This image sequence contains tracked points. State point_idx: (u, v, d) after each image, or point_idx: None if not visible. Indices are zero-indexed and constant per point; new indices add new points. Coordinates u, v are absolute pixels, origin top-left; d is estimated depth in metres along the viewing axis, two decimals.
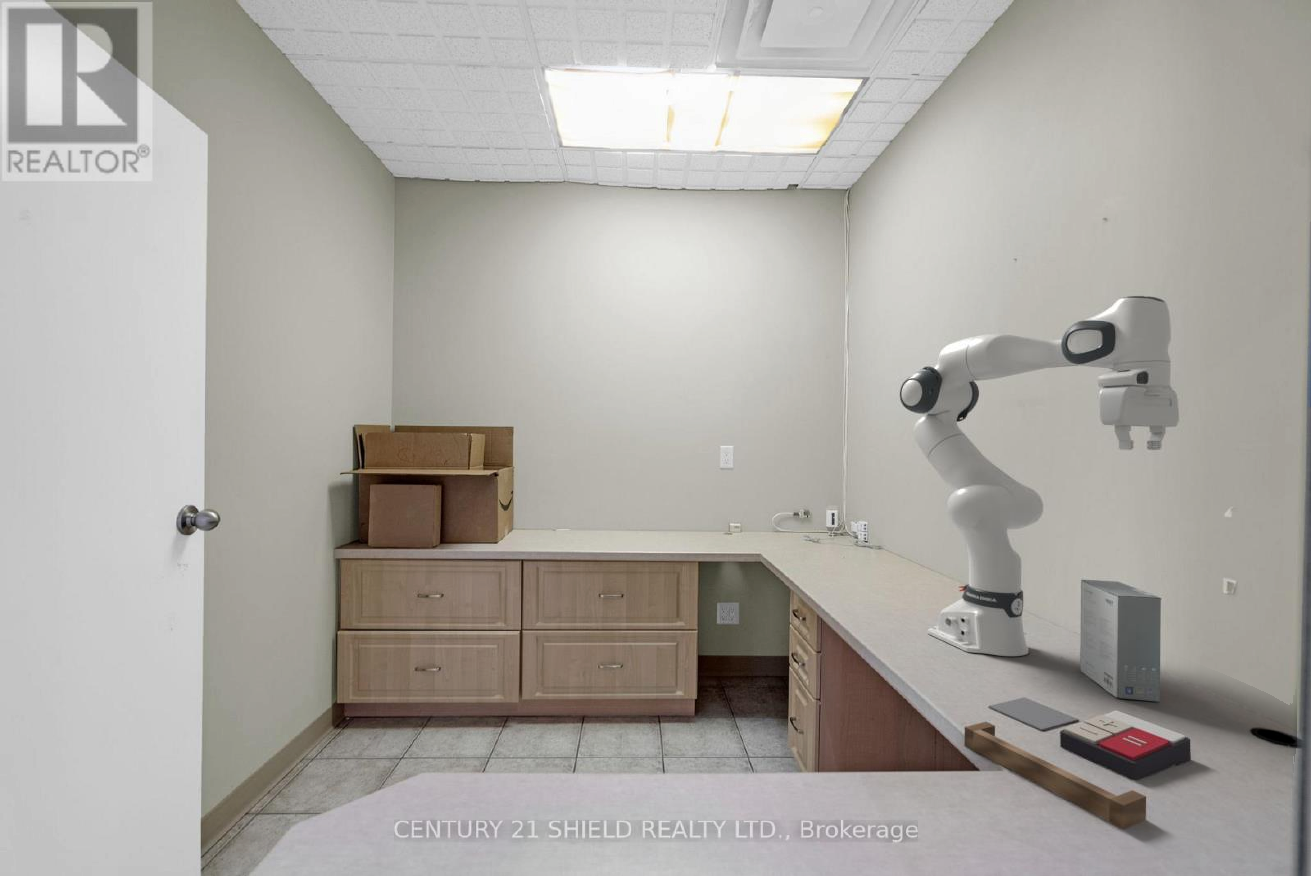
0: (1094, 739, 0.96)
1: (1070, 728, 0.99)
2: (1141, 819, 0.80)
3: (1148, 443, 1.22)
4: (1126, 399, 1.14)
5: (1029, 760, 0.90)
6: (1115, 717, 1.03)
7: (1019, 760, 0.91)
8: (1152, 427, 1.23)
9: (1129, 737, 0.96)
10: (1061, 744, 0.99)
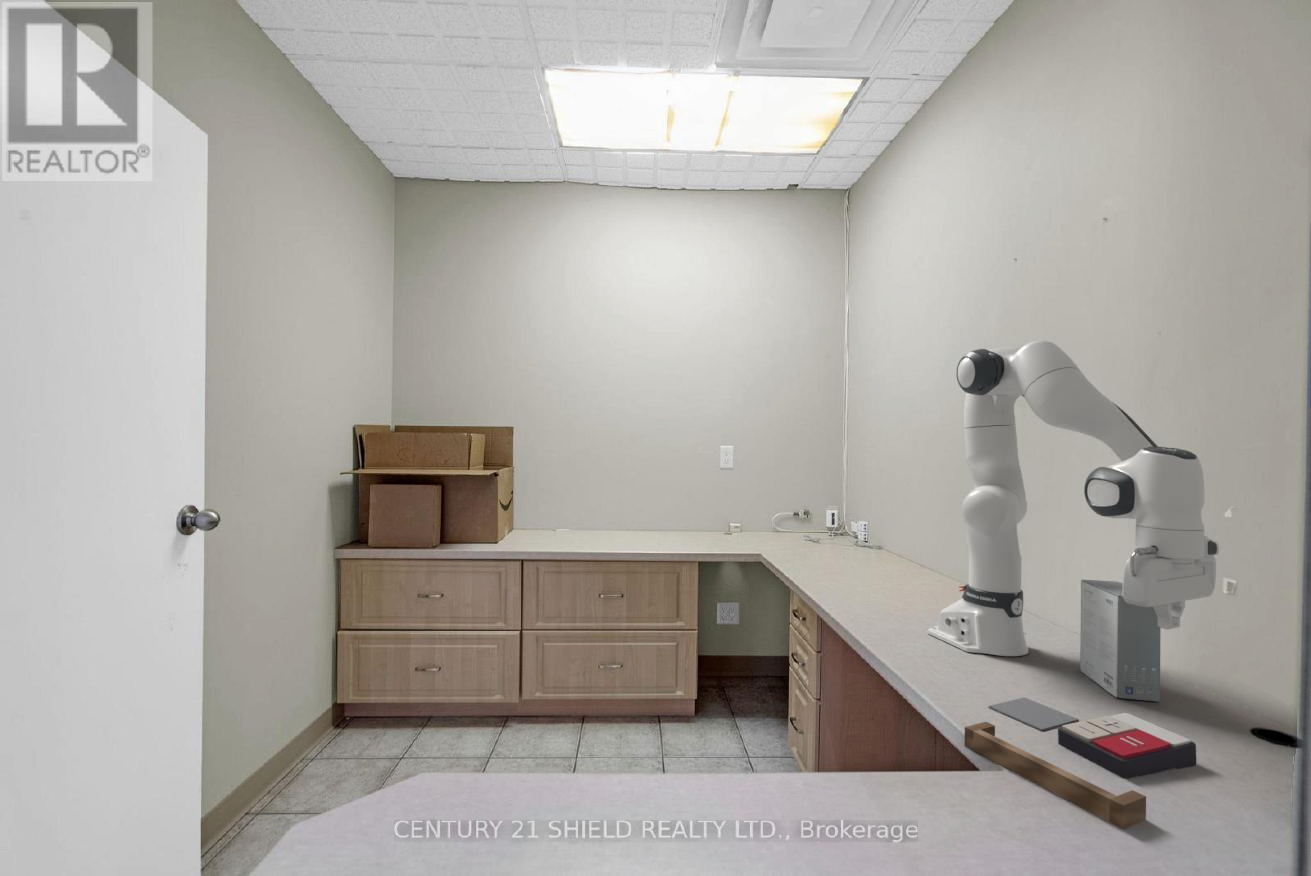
0: (1089, 737, 0.96)
1: (1068, 726, 1.00)
2: (1141, 819, 0.80)
3: None
4: None
5: (1029, 760, 0.90)
6: (1121, 718, 1.02)
7: (1019, 760, 0.91)
8: None
9: (1127, 738, 0.96)
10: (1059, 741, 1.00)
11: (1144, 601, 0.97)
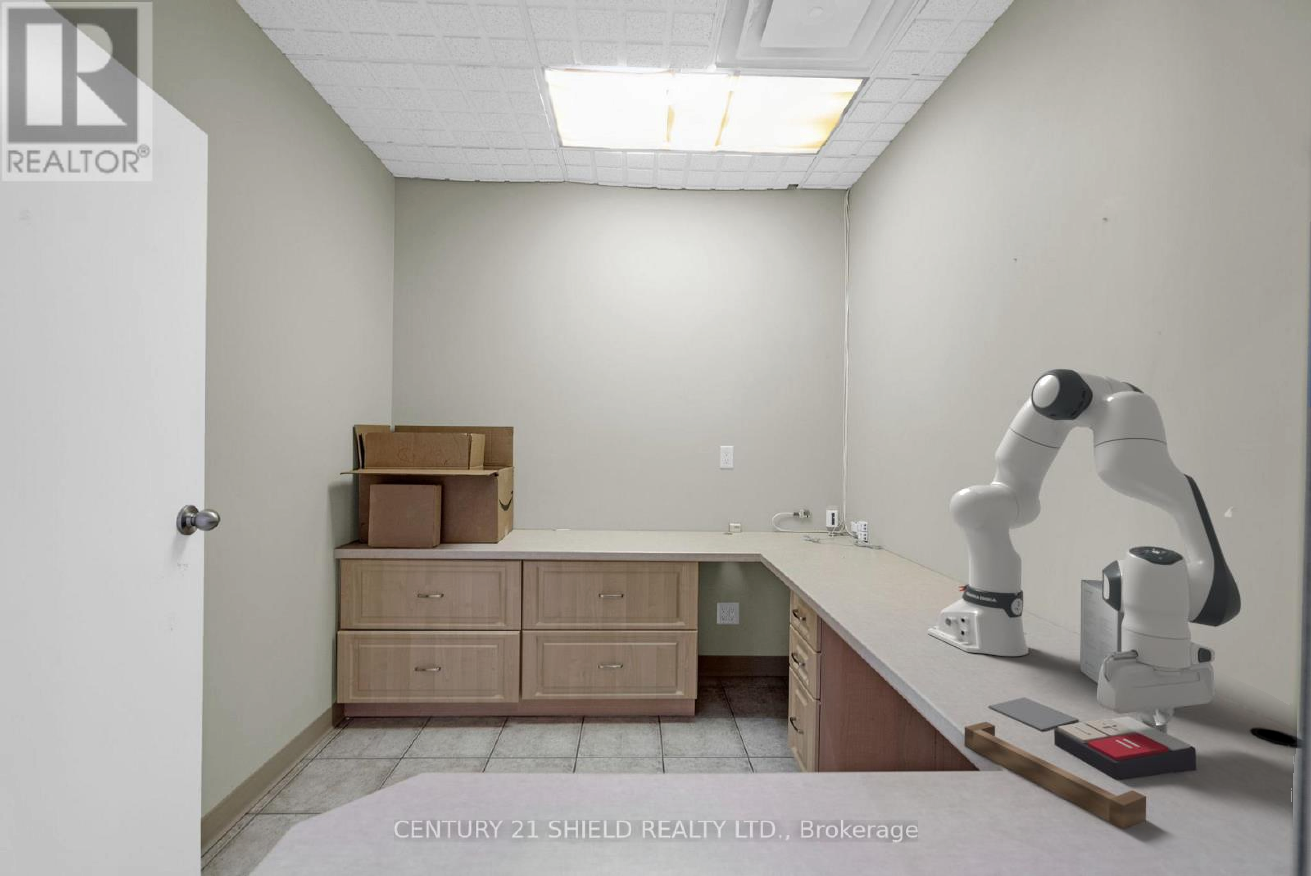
0: (1084, 738, 0.96)
1: (1064, 727, 1.00)
2: (1141, 819, 0.80)
3: None
4: None
5: (1029, 760, 0.90)
6: (1122, 721, 1.01)
7: (1019, 760, 0.91)
8: None
9: (1124, 740, 0.95)
10: (1055, 742, 1.00)
11: (1115, 707, 0.97)
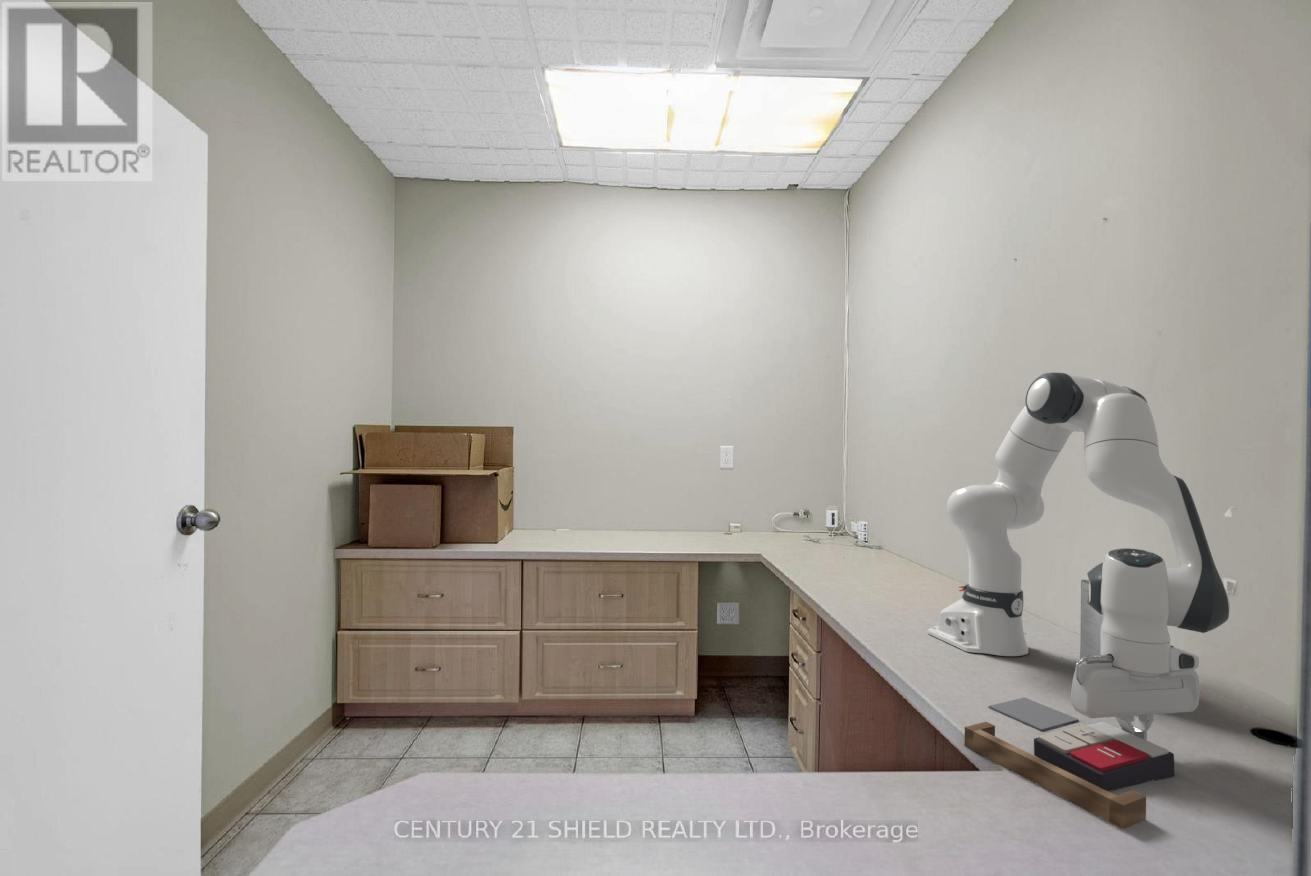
0: (1066, 748, 0.93)
1: (1044, 736, 0.96)
2: (1141, 819, 0.80)
3: None
4: None
5: (1029, 760, 0.90)
6: (1098, 727, 0.99)
7: (1019, 760, 0.91)
8: None
9: (1104, 748, 0.92)
10: (1034, 752, 0.97)
11: (1087, 711, 0.95)
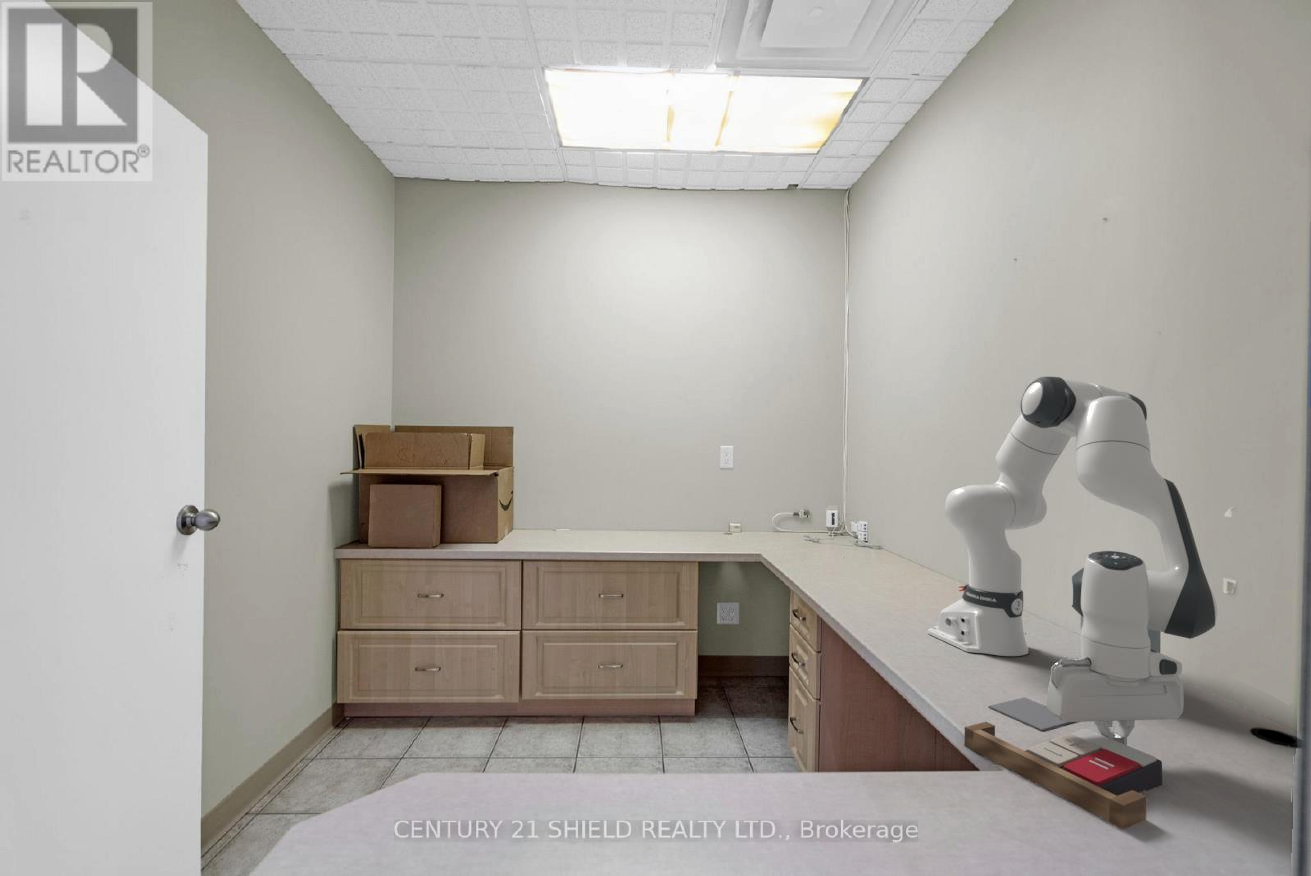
0: (1058, 761, 0.89)
1: (1034, 748, 0.92)
2: (1141, 819, 0.80)
3: None
4: None
5: (1029, 760, 0.90)
6: (1083, 736, 0.96)
7: (1019, 760, 0.91)
8: None
9: (1096, 759, 0.89)
10: None
11: (1061, 715, 0.94)
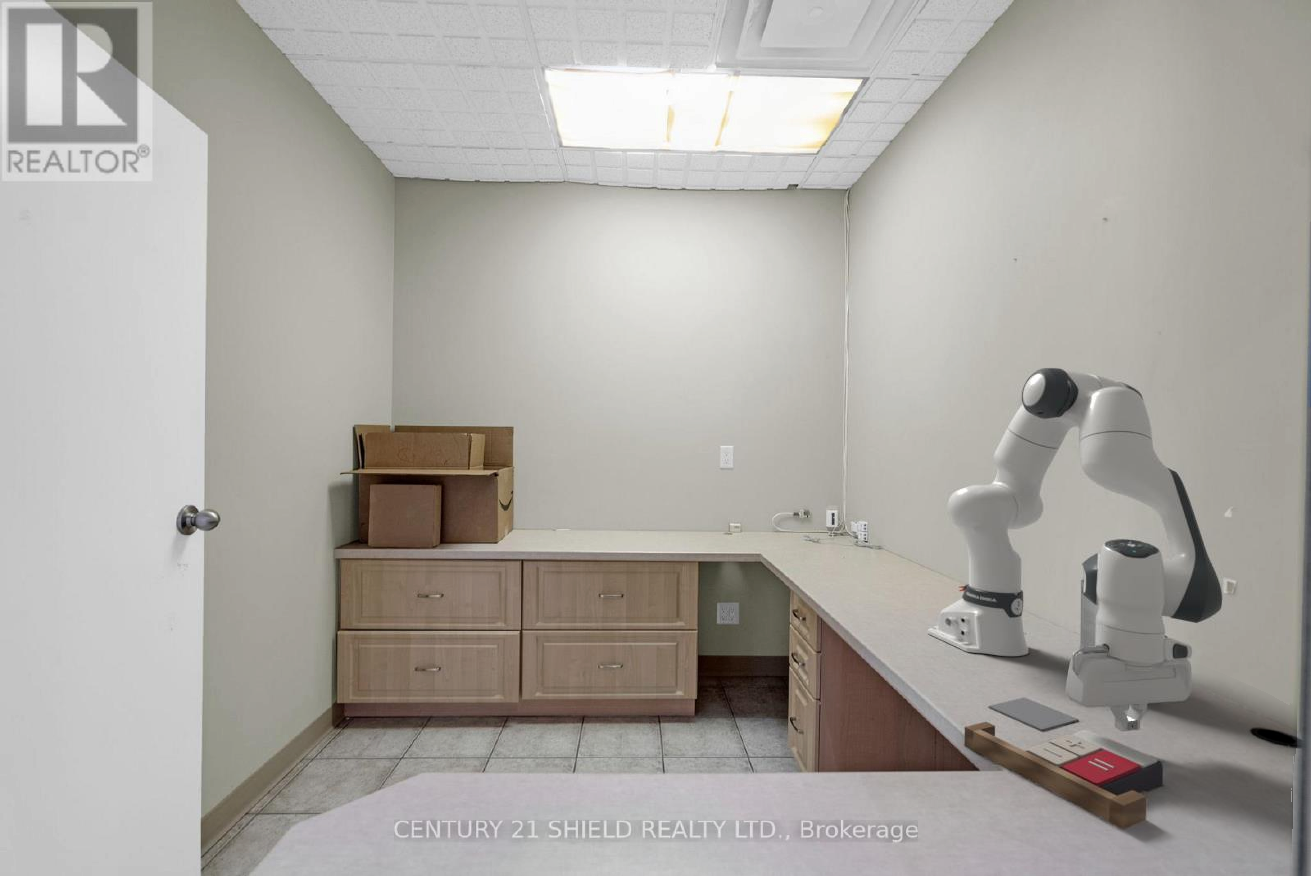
0: (1057, 762, 0.89)
1: (1033, 749, 0.92)
2: (1141, 819, 0.80)
3: None
4: None
5: (1029, 760, 0.90)
6: (1084, 737, 0.96)
7: (1019, 760, 0.91)
8: None
9: (1095, 760, 0.89)
10: None
11: (1082, 701, 0.96)
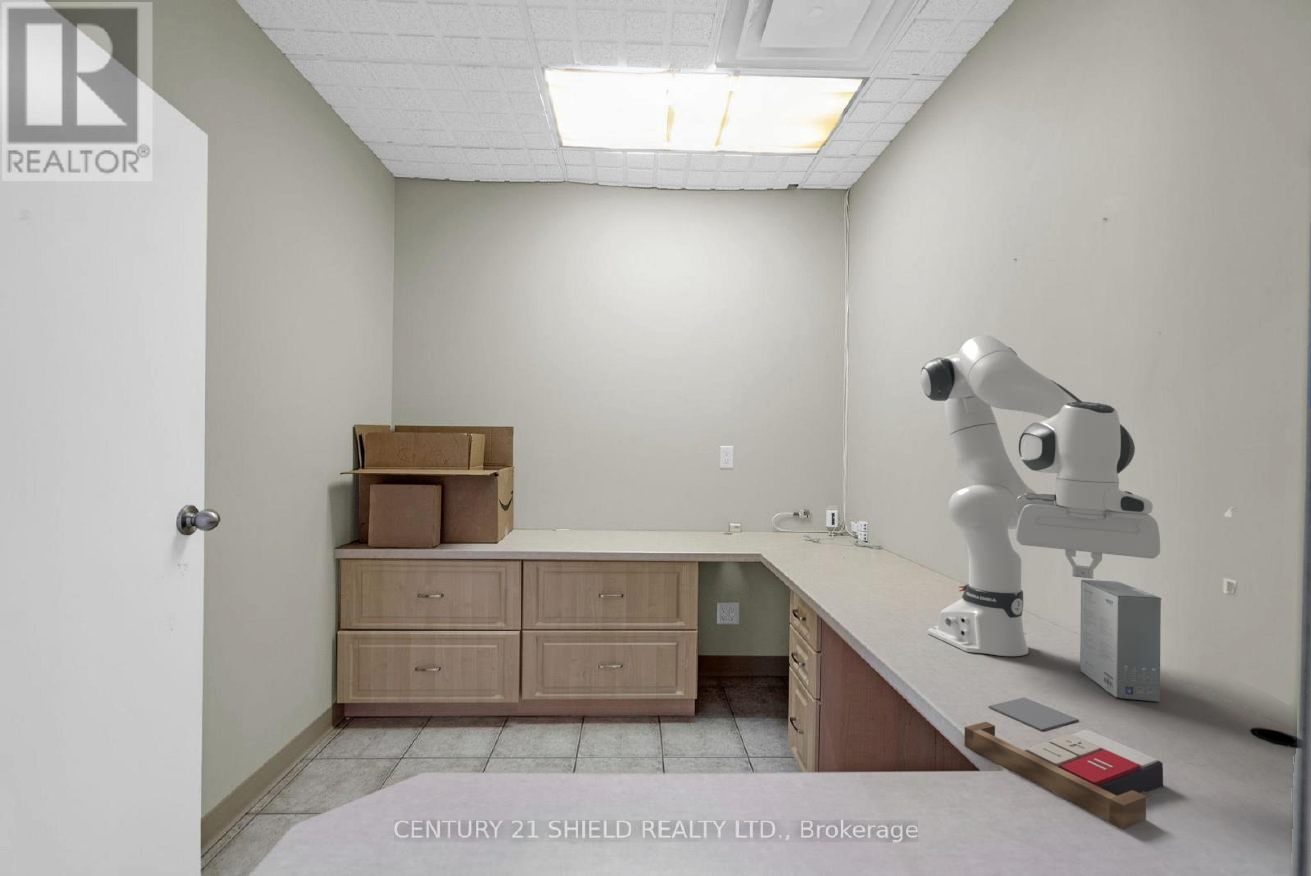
0: (1056, 761, 0.89)
1: (1032, 748, 0.92)
2: (1141, 819, 0.80)
3: None
4: None
5: (1029, 760, 0.90)
6: (1084, 737, 0.96)
7: (1019, 760, 0.91)
8: (1075, 550, 1.06)
9: (1095, 760, 0.89)
10: None
11: (1016, 538, 1.09)
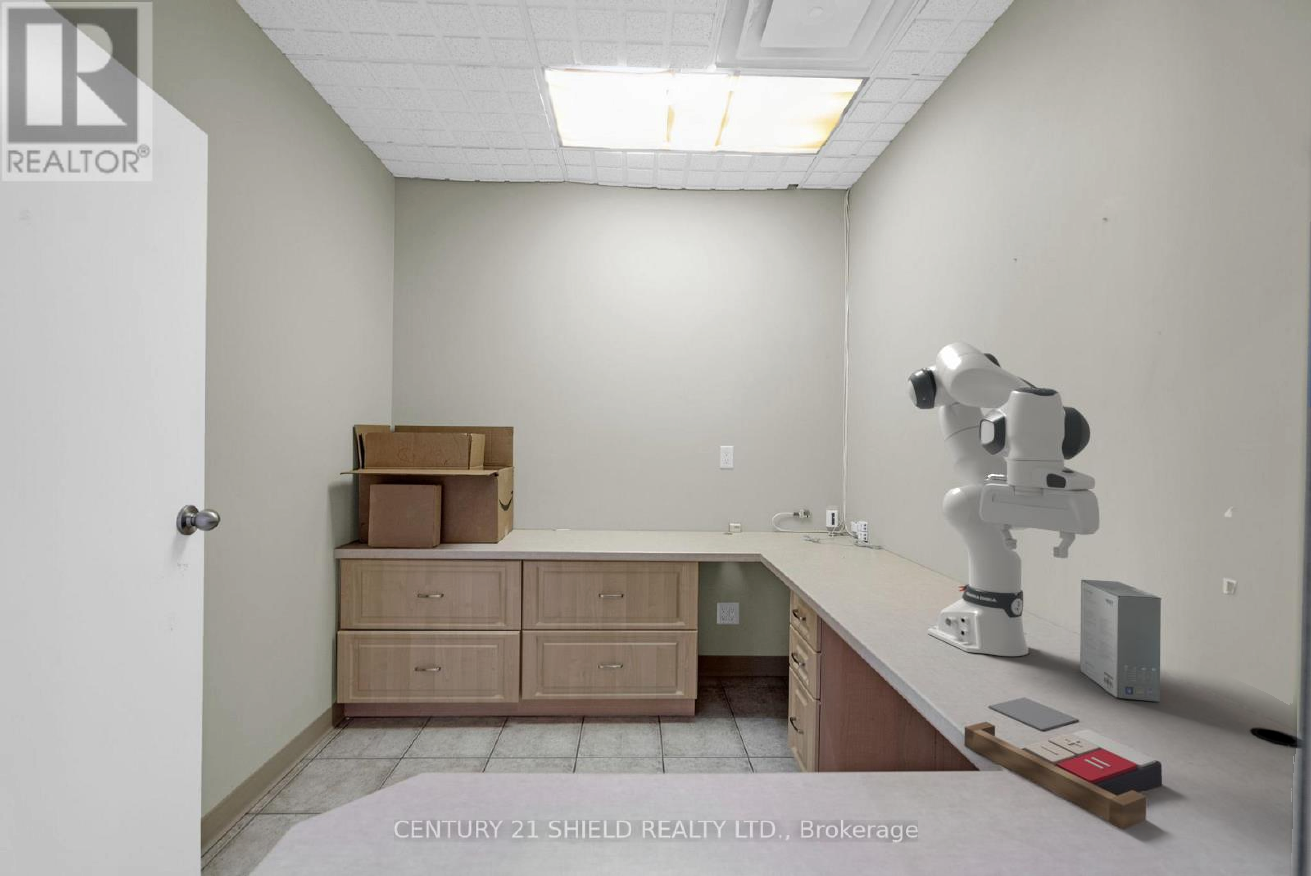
0: (1053, 759, 0.89)
1: (1030, 746, 0.93)
2: (1141, 819, 0.80)
3: (1011, 542, 1.15)
4: None
5: (1029, 760, 0.90)
6: (1083, 736, 0.96)
7: (1019, 760, 0.91)
8: (1005, 524, 1.16)
9: (1092, 759, 0.89)
10: None
11: (979, 515, 1.20)
